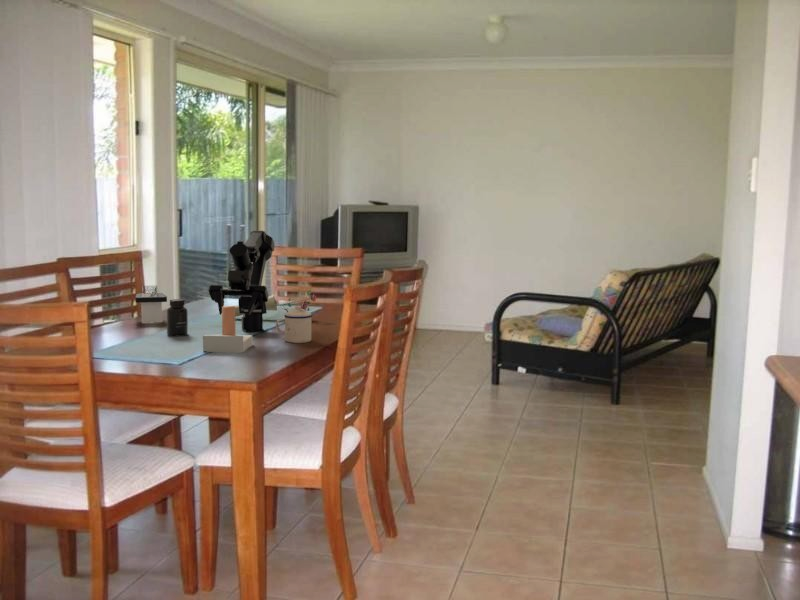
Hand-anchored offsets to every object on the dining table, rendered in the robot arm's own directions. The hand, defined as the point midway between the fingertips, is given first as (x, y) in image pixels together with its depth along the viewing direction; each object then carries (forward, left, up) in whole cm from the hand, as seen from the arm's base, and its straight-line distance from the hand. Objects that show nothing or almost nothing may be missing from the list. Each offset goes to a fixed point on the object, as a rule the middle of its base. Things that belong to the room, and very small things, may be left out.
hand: (234, 314), depth 259 cm
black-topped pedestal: (+19, -55, -10) cm, 59 cm away
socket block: (+3, +6, -10) cm, 12 cm away
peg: (+3, +6, -10) cm, 12 cm away
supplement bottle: (+15, -23, -10) cm, 29 cm away
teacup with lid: (-19, +1, -10) cm, 22 cm away
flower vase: (-24, -46, -10) cm, 53 cm away
